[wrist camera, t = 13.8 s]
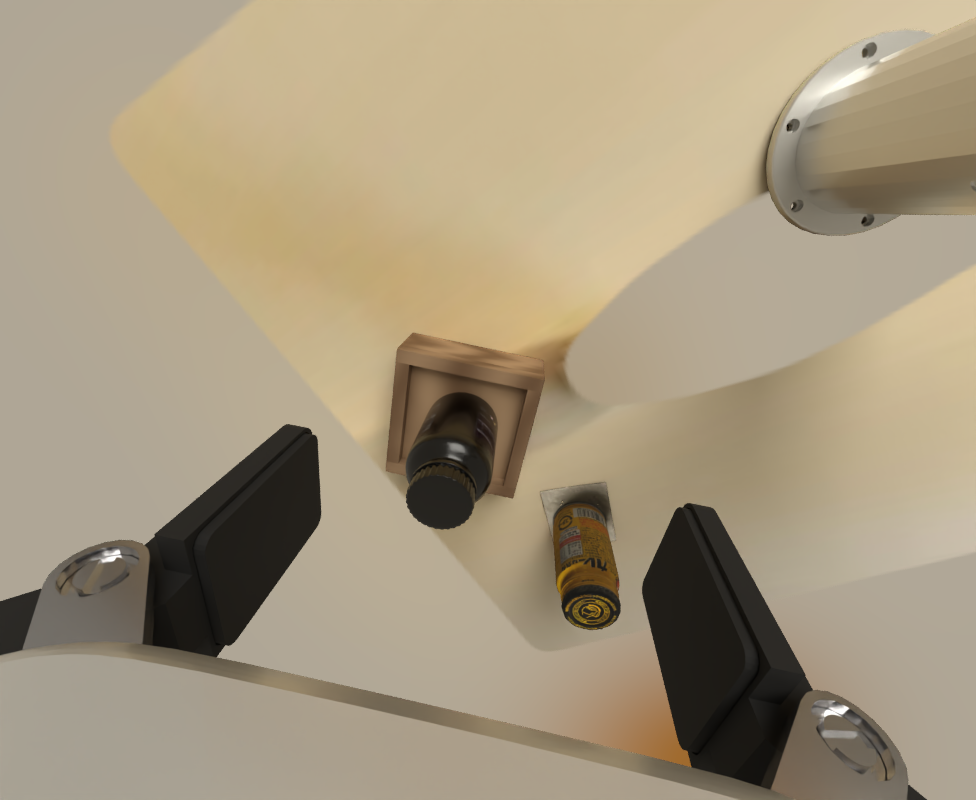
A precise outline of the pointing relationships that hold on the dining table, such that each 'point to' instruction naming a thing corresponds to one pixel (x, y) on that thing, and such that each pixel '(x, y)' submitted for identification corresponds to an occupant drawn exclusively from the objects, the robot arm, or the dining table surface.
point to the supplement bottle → (451, 460)
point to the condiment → (584, 554)
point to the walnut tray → (466, 368)
